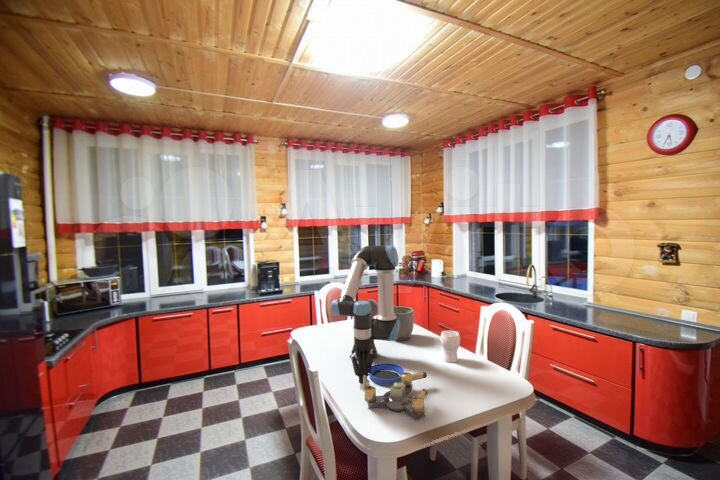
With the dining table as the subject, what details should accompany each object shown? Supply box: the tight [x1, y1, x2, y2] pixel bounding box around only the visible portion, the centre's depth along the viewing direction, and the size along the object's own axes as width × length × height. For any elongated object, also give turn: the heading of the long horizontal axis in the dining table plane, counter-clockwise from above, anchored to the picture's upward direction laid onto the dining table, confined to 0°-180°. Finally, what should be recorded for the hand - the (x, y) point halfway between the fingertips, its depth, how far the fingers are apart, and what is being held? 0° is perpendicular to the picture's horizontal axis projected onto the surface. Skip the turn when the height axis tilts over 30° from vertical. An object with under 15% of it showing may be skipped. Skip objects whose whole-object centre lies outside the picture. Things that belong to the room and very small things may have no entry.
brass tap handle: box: [400, 371, 428, 387], centre depth 147 cm, size 13×5×4 cm, turn 109°
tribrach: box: [367, 382, 426, 421], centre depth 136 cm, size 25×22×9 cm
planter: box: [394, 305, 415, 341], centre depth 211 cm, size 20×20×19 cm
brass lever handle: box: [412, 388, 428, 414], centre depth 128 cm, size 13×5×4 cm, turn 154°
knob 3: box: [363, 379, 377, 403], centre depth 138 cm, size 13×5×4 cm, turn 9°
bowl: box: [368, 362, 405, 386], centre depth 158 cm, size 18×18×4 cm
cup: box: [439, 330, 461, 364], centre depth 176 cm, size 11×11×15 cm
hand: (363, 389), depth 139 cm, fingers closed
